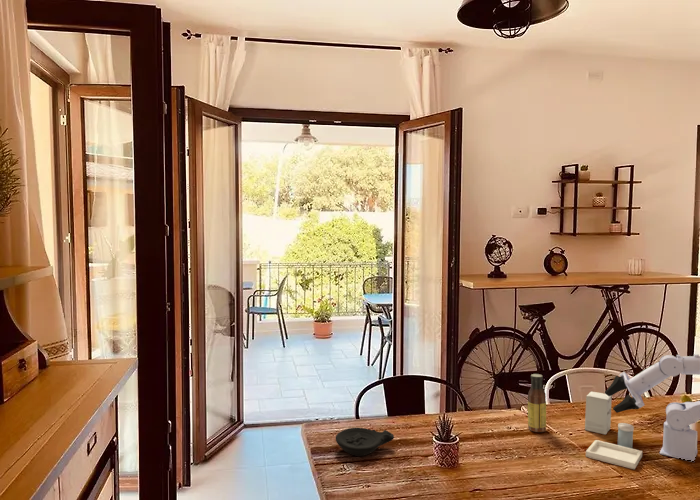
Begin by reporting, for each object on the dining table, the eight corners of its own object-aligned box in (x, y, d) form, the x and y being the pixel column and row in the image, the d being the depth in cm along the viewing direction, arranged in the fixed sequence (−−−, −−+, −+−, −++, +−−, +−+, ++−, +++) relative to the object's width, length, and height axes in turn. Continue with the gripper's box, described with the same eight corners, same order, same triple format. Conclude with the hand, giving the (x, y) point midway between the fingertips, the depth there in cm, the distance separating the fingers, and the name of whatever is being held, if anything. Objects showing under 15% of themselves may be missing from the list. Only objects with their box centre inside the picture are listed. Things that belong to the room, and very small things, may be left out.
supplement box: (606, 435, 190) (607, 399, 189) (584, 430, 194) (585, 395, 194) (611, 429, 196) (612, 394, 195) (589, 424, 200) (590, 390, 200)
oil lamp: (402, 456, 170) (402, 440, 170) (343, 463, 164) (343, 447, 164) (385, 438, 184) (385, 424, 184) (330, 444, 178) (330, 429, 178)
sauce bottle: (543, 427, 196) (545, 373, 196) (548, 433, 190) (549, 378, 189) (525, 426, 197) (526, 372, 196) (528, 432, 191) (530, 377, 190)
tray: (642, 456, 172) (642, 451, 172) (634, 469, 163) (634, 463, 163) (595, 444, 181) (595, 439, 181) (585, 456, 172) (585, 451, 171)
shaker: (633, 446, 180) (634, 425, 180) (631, 450, 177) (632, 429, 176) (618, 442, 183) (619, 421, 183) (615, 447, 180) (616, 425, 179)
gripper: (629, 359, 184) (596, 381, 189) (647, 389, 171) (611, 412, 176) (642, 370, 186) (608, 391, 191) (660, 401, 173) (624, 423, 178)
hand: (610, 402), depth 184 cm, fingers open, 7 cm apart
